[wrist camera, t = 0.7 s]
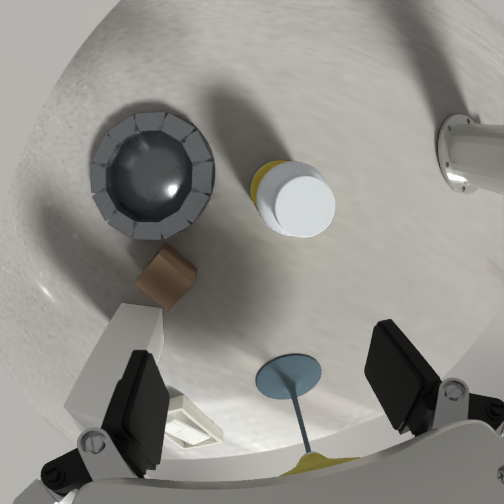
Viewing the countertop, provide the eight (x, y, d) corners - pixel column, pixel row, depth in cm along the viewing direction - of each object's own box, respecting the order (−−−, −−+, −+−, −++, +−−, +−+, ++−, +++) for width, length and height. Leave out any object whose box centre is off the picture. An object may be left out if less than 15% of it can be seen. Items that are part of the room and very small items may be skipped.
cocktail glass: (228, 341, 37) (236, 515, 13) (349, 328, 38) (430, 464, 14) (237, 414, 43) (247, 536, 20) (332, 401, 44) (374, 510, 21)
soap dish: (183, 394, 40) (182, 407, 37) (223, 430, 45) (223, 442, 42) (143, 404, 41) (140, 417, 38) (184, 438, 45) (183, 450, 43)
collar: (180, 90, 25) (177, 85, 23) (237, 200, 30) (238, 204, 28) (79, 156, 26) (70, 157, 24) (133, 256, 31) (127, 263, 29)
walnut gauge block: (166, 242, 31) (158, 254, 28) (197, 268, 33) (193, 283, 29) (143, 270, 32) (134, 284, 29) (173, 294, 34) (167, 311, 30)
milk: (126, 336, 35) (74, 462, 15) (121, 301, 33) (49, 431, 13) (165, 342, 36) (131, 479, 15) (163, 307, 34) (114, 454, 13)
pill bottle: (237, 186, 30) (242, 203, 19) (280, 148, 29) (310, 144, 18) (274, 227, 32) (299, 265, 21) (316, 191, 31) (361, 211, 20)
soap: (212, 426, 43) (212, 438, 40) (194, 434, 44) (193, 446, 41) (174, 406, 40) (172, 418, 38) (157, 415, 41) (155, 427, 39)
